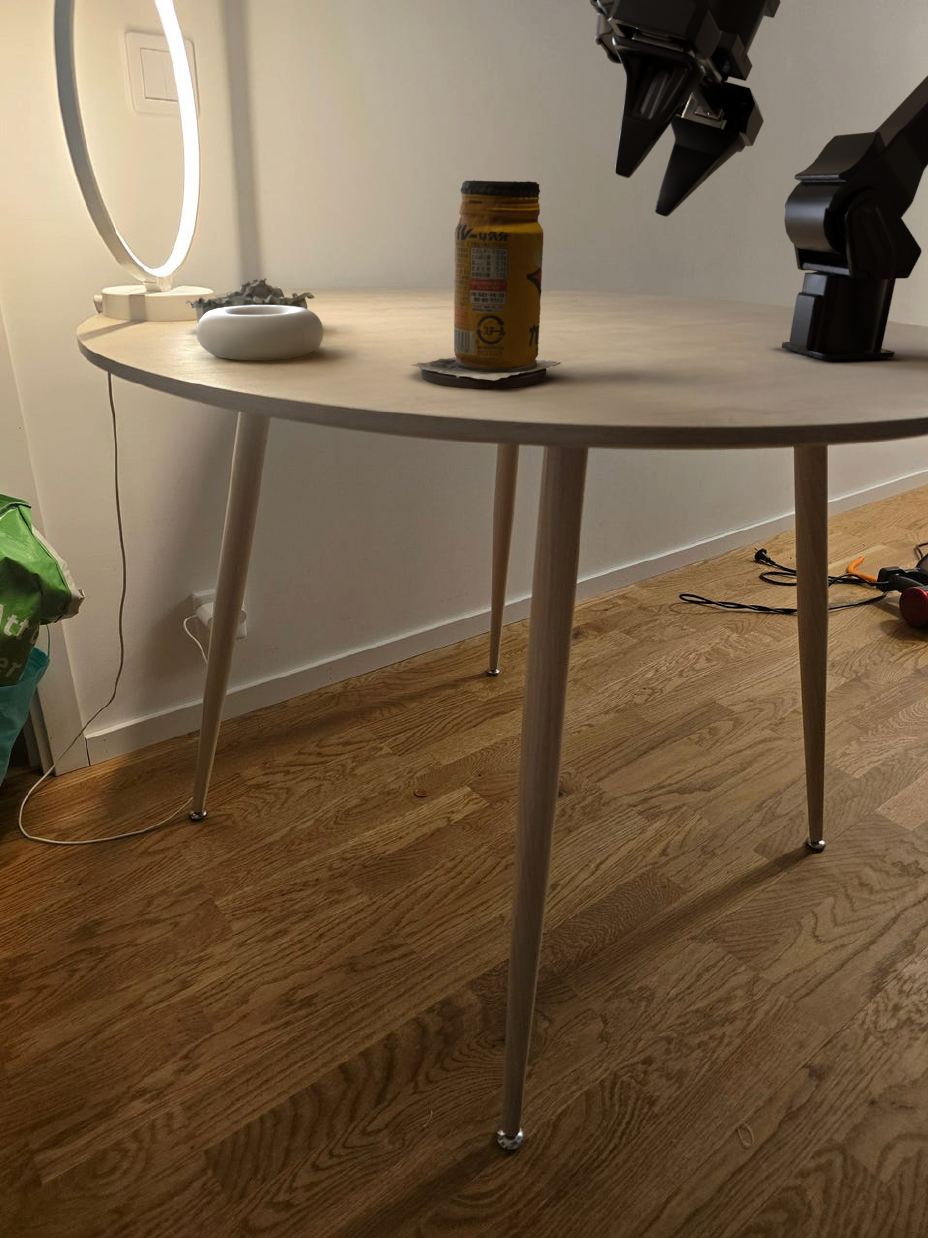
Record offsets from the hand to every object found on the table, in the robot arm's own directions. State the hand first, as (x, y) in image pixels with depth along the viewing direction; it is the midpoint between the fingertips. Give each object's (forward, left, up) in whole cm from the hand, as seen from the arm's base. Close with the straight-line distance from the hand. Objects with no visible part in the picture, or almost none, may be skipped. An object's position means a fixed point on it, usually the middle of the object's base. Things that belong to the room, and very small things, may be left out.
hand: (642, 196), depth 64 cm
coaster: (+13, +4, -12) cm, 18 cm away
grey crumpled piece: (+28, -23, -12) cm, 38 cm away
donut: (+28, -9, -12) cm, 32 cm away
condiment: (+13, +4, -11) cm, 17 cm away
